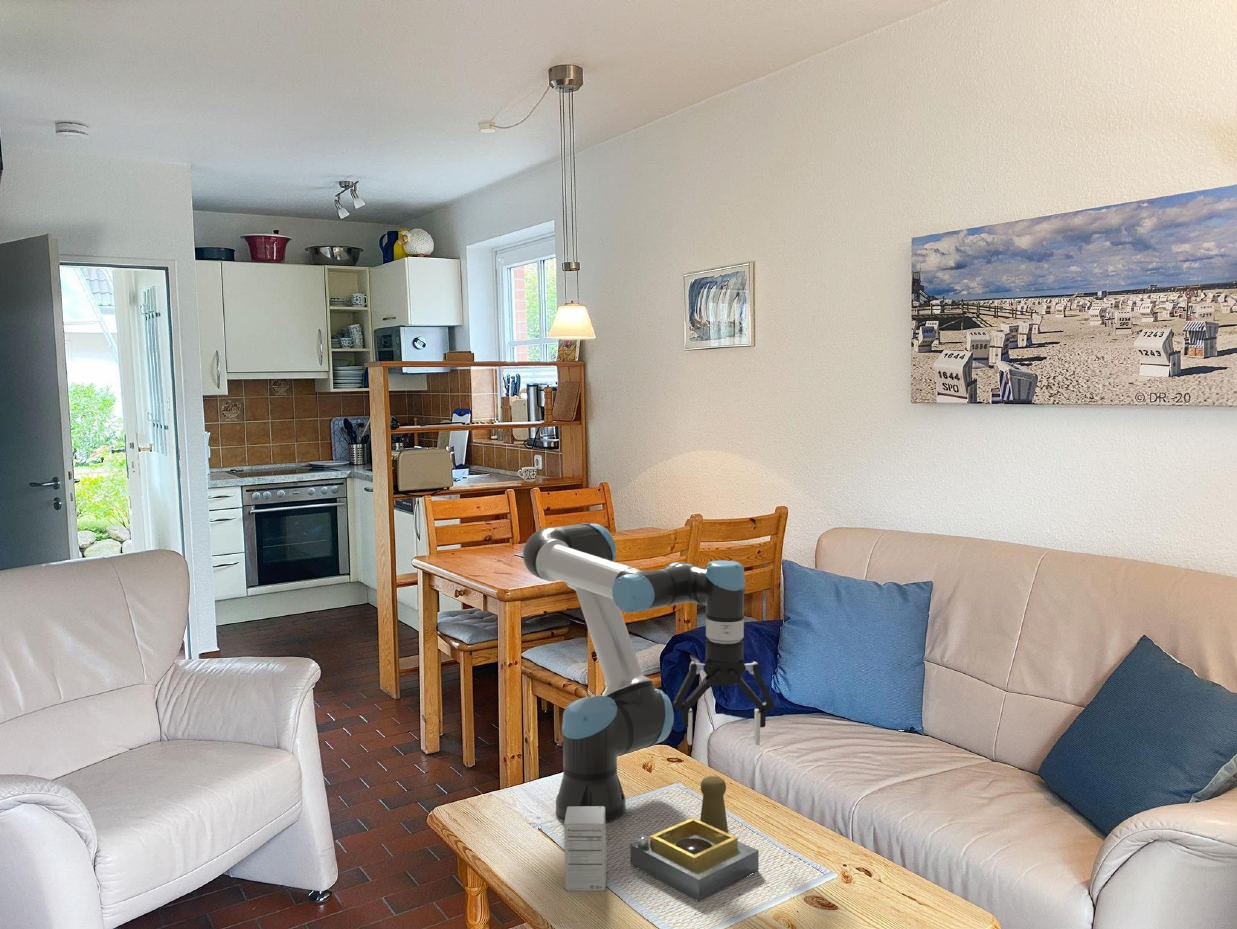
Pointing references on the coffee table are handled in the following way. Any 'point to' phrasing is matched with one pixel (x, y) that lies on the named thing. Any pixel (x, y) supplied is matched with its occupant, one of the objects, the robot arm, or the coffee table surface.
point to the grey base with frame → (694, 858)
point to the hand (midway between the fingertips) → (723, 742)
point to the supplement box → (585, 848)
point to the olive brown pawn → (714, 803)
